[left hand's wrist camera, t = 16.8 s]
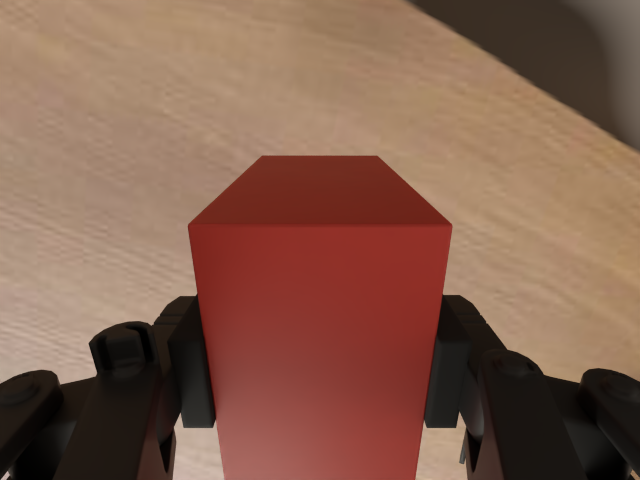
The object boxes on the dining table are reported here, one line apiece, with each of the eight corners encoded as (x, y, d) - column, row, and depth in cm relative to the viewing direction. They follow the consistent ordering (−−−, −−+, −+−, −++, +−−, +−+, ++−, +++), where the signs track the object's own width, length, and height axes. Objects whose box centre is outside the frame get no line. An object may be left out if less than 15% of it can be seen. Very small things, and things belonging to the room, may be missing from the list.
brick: (378, 155, 17) (454, 224, 7) (369, 304, 20) (414, 488, 10) (261, 155, 17) (186, 224, 7) (270, 303, 19) (225, 488, 10)
